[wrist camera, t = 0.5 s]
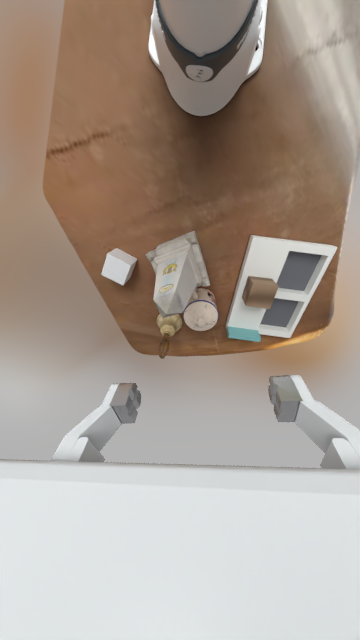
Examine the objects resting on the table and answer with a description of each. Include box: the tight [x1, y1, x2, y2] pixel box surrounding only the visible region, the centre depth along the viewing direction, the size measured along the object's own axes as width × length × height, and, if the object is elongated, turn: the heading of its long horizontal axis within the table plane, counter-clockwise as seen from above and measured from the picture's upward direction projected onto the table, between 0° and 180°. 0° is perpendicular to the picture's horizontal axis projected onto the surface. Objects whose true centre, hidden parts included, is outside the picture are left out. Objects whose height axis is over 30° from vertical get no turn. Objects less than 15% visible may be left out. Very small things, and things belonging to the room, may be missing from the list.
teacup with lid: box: [183, 288, 219, 331], centre depth 51 cm, size 12×9×12 cm
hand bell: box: [157, 314, 183, 358], centre depth 54 cm, size 8×8×16 cm
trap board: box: [225, 235, 338, 342], centre depth 50 cm, size 26×19×7 cm
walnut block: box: [242, 276, 279, 309], centre depth 47 cm, size 6×6×5 cm
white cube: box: [101, 248, 137, 285], centre depth 50 cm, size 6×6×6 cm
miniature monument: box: [146, 230, 210, 318], centre depth 37 cm, size 10×10×30 cm
